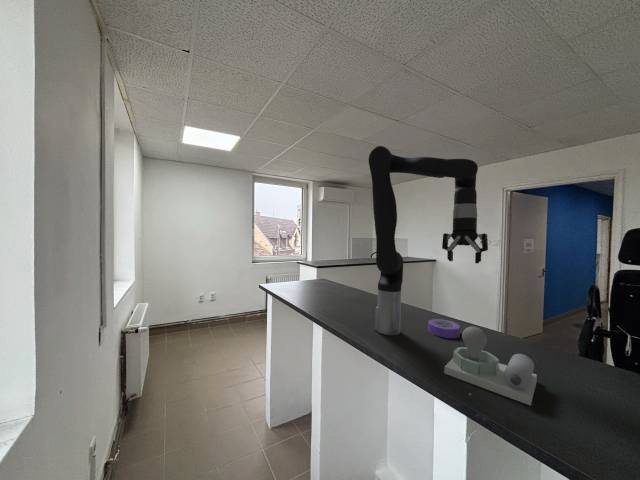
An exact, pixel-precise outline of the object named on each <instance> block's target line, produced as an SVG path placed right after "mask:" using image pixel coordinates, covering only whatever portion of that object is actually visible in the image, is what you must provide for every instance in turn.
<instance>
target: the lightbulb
mask: <svg viewBox="0 0 640 480" xmlns="http://www.w3.org/2000/svg"><path fill="white" fill-rule="evenodd" d="M461 339H462V341H463V343H464V344H465V347H467V353H468V359H469V360H472V361H475V362H478V363H479V358H480V354H481V351H482V350H483V348H485V346H486V345H487V342H488V341H487V340H488V339H487V335H486V333H485V331H483V330H482V329H481V328H479V327H477V326H468V327H466V328H465V329H464V330H463V331H462V333H461Z"/></svg>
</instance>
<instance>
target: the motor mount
mask: <svg viewBox="0 0 640 480" xmlns="http://www.w3.org/2000/svg"><path fill="white" fill-rule="evenodd" d="M452 352H453V353H452V354H453V357H452V358H451V360H449V361H448V362H447V363H446V364H445V366H444V370H443V371H444V374H445V375H447V376H451V377H453V378H455V379H458V380H461V381H463V382H465V383H468V384H471V385H475V386H477V387H479V388H482V389H485V390H487V391H490V392H493V393H496V394H498V395H500V396H503V397H507V398H509V399H512V400H515V401H516V402H517V401H518V402H520V403H522V404H525V405H527V406H530V407H531V406H532V402H533V399H534V393H535V391H536V387H537V382H538V381H537V380H538V374H536V373H533V372H534V369H535V365H534V361H533V360H532V359H531V358H530V357H529V356H527V355H525V354H523V353H515V354H513V355H512V356H511V358H510V360H509V362H508V363H507V364H503V363H500V360H499V358H498V357H497V356H495V355H494V354H492V353H491V352H490V351H489V352H488V351H486V350H483V349H482V351H481V354H480V358H479V363H478V362H475V361H472V360H469V359H468V353H467V347H466V346H464V347H463V346H461V347H460V346H458V347H457V348H455V349H454V350H453V351H452Z"/></svg>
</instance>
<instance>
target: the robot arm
mask: <svg viewBox="0 0 640 480" xmlns="http://www.w3.org/2000/svg"><path fill="white" fill-rule="evenodd" d="M367 160H368V165H369V171H370V177H371V182H372V183H371V186H372V189H371V191H372V206H373V208H372V209H373V220H374V229H375V238H376V239H375V240H376V242H375V244H376V248H375V250H376V251H375V263H376V267H377V269H378V270H379V271H380V276H379V280H378V282H377V305H376V306H375V309H374V310H375V311H374V313H375V315H374V330H375V331H377V332H378V333H380V334H381V335H386V336H397V335H400V334H401V312H402V307H401V306H402V286H403V279H404V278H403V277H404V259H403V256H402V255H401V254H400V252H398V251H397V248H396V240H395V239H396V237H395V236H396V230H397V225H398V223H397V222H398V209H397V201H396V196H395V192H394V187H393V185H392V181H391V173H393V174H395V173H397V174H398V173H399V174H412V175H418V176H423V177H430V178H436V179H442V178H452V179H454V190H455V191H454V195H453V196H454V197H453V210H452V233H447V232H446V233H445V232H444V233H443V234H442V243H441V244H442V246H441V247H442V250H445V251H447V258H446V259H447V260H448V261H449V262H453V261H454V249H455V248H456V247H457V246H470V247H472V248H473V249H474V250H475V254H474V255H475V257H474V258H475V259H474V264H479V263H481V262H482V253H484V252H486V251H488V250H489V243H488V242H489V241H488V240H489V238H488V234H487V233H478V230H477V228H478V224H477V223H478V207H477V197H478V196H477V194H478V193H477V189H476V185H477V174H478V171H479V167H478V164H477V163H476V161H474V160H472V159H468V158H449V159H448V158H440V157H431V156H417V157H403V156H398V155H395V154H392V152H391V151H390V149H388V147H385V146H383V145H378V146H375V147H373V148H372V149H371V151H370V153H369V155H368V159H367ZM478 238H479V240H481V247H480V246H479V244H478V243H477V242H476V241H477V239H478ZM450 239H452V240H453V241H452V242H451V243H450V245H449V240H450Z"/></svg>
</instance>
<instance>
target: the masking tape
mask: <svg viewBox="0 0 640 480" xmlns="http://www.w3.org/2000/svg"><path fill="white" fill-rule="evenodd" d="M427 327H428V328H427V331H428V332H429V334H432V335H433V336H437V337H440V338H445V339H446V338H447V339H456V338H460V335H461V326H460V324H458V323H457V322H456V321H455V322H454V321H451V320H447V319H442V318H433V319H429V320H428V323H427Z"/></svg>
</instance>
